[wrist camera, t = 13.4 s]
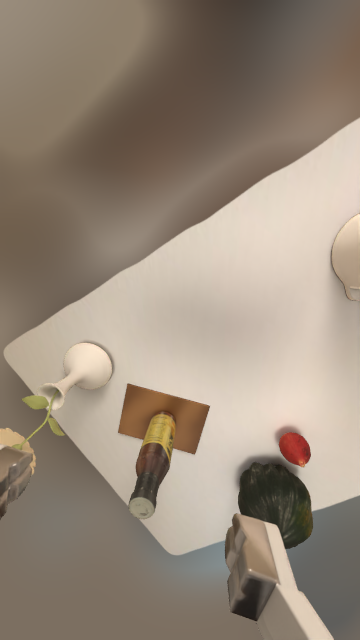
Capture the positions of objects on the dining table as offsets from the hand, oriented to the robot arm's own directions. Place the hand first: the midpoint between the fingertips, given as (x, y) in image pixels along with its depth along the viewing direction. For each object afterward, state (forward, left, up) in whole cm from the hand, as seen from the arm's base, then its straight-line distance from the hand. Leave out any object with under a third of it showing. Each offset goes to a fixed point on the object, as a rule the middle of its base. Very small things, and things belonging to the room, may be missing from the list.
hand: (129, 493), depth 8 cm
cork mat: (0, +27, -37) cm, 46 cm away
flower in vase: (+19, +18, -37) cm, 46 cm away
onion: (-29, +22, -37) cm, 52 cm away
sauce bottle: (-1, +27, -37) cm, 46 cm away
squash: (-28, +35, -37) cm, 58 cm away
